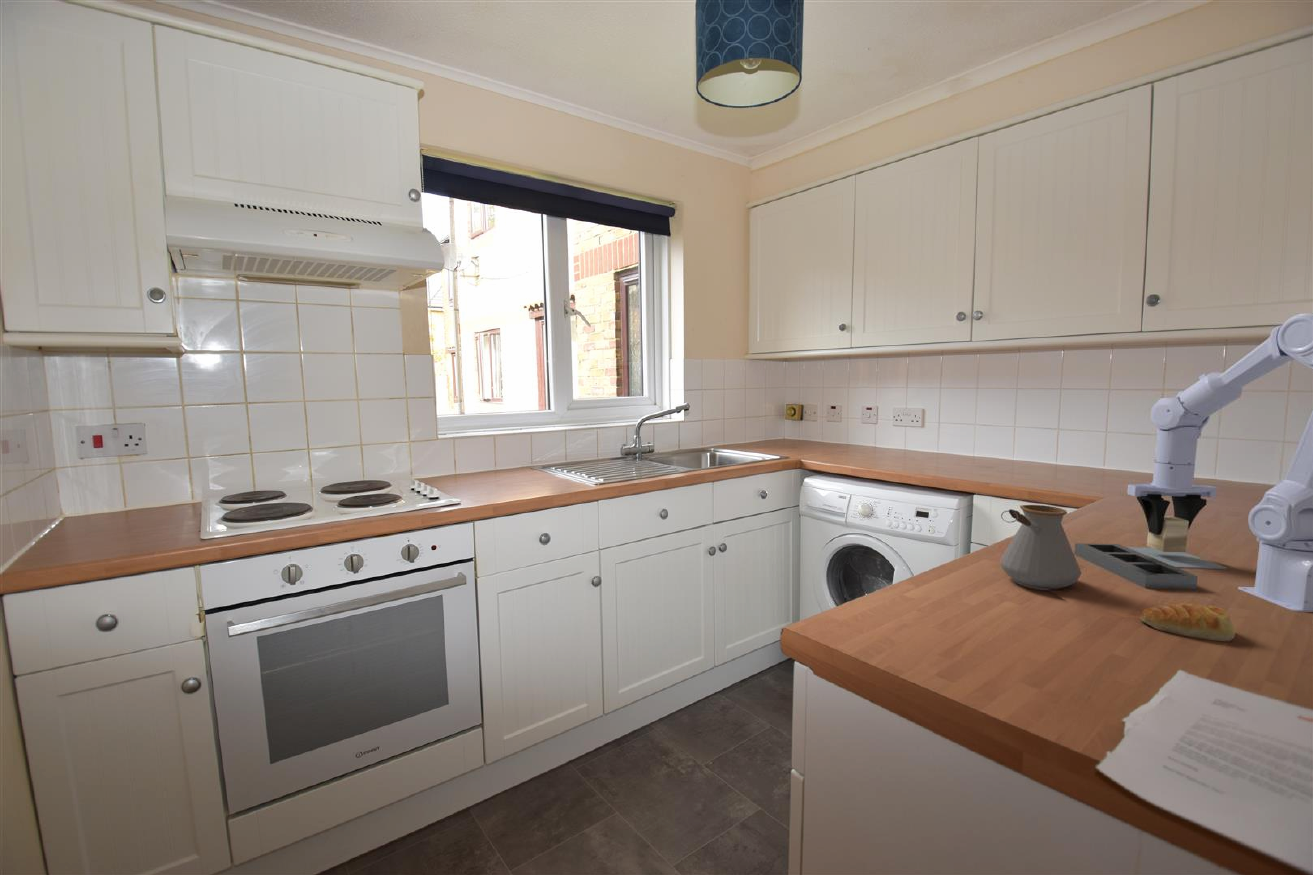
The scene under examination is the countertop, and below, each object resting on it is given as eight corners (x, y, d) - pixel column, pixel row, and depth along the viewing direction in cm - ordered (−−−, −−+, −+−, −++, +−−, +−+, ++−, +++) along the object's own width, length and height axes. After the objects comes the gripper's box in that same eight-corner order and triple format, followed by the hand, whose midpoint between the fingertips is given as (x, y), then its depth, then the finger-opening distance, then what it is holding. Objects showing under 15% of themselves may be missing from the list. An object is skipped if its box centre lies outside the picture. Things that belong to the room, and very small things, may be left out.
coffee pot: (1013, 567, 108) (1019, 486, 106) (1088, 584, 99) (1096, 497, 97) (963, 595, 94) (968, 503, 92) (1045, 618, 85) (1053, 517, 84)
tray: (1196, 591, 96) (1197, 575, 95) (1144, 590, 96) (1145, 574, 96) (1117, 557, 113) (1118, 544, 113) (1074, 556, 114) (1075, 543, 114)
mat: (1226, 570, 106) (1226, 567, 106) (1156, 569, 106) (1156, 566, 106) (1172, 550, 118) (1172, 547, 117) (1109, 549, 118) (1110, 546, 118)
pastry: (1153, 635, 80) (1156, 608, 80) (1130, 616, 86) (1132, 591, 86) (1239, 645, 77) (1242, 617, 77) (1209, 625, 84) (1212, 599, 83)
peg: (1185, 552, 110) (1188, 520, 109) (1163, 551, 110) (1166, 520, 109) (1168, 546, 114) (1171, 515, 113) (1146, 545, 114) (1149, 515, 113)
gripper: (1197, 460, 113) (1190, 528, 115) (1118, 459, 114) (1112, 527, 116) (1230, 465, 106) (1222, 538, 108) (1146, 464, 107) (1139, 537, 109)
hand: (1167, 533), depth 111 cm, fingers closed on peg, 4 cm apart
